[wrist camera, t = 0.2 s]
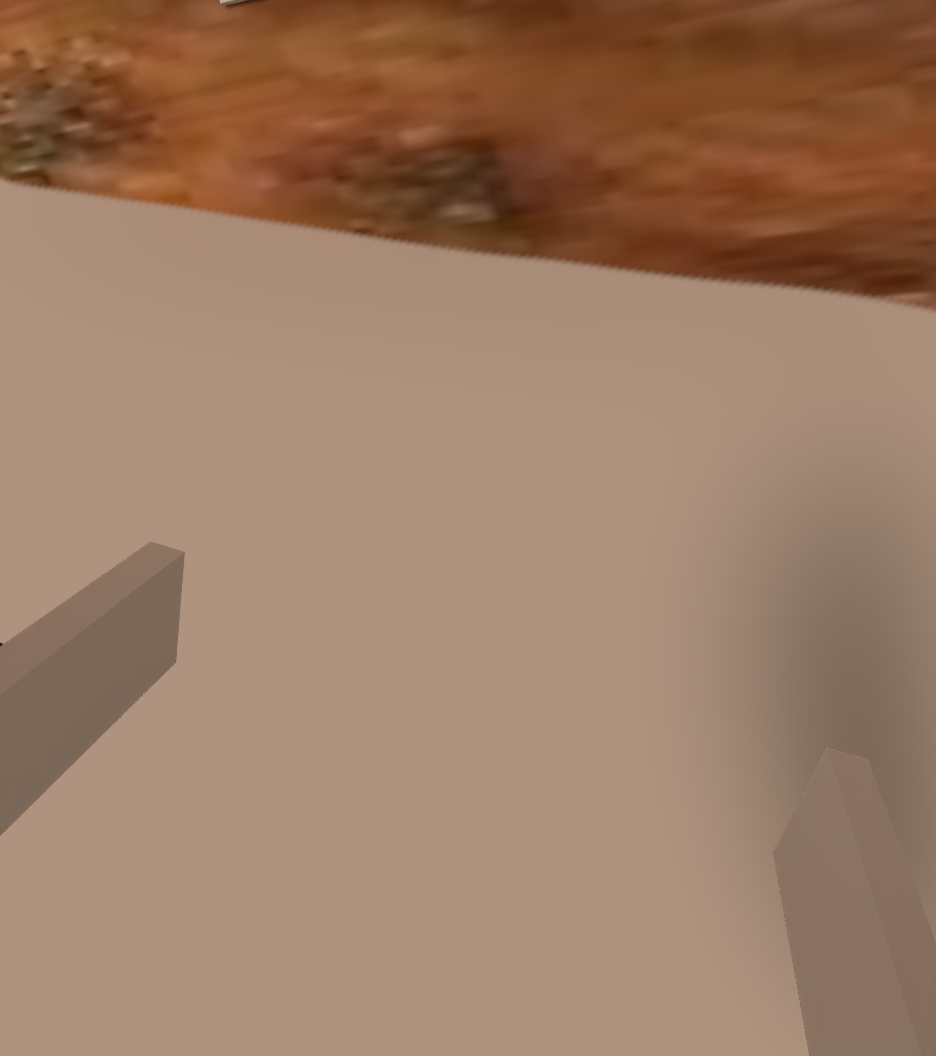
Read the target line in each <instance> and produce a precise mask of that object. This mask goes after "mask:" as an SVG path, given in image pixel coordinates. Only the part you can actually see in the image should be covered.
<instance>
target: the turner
mask: <svg viewBox="0 0 936 1056" xmlns="http://www.w3.org/2000/svg"><path fill="white" fill-rule="evenodd" d="M243 1H247V0H220V3H221V4H223V5H230V4H234V3H239V2H243Z"/></svg>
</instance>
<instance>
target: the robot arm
mask: <svg viewBox="0 0 936 1056" xmlns="http://www.w3.org/2000/svg"><path fill="white" fill-rule="evenodd" d="M184 555H185V552H183V551H180V550H176V549H173V548H170V547H167V546H163V545H160V544H157V543H153V542H149V543H148V544H146V545H145V546H143V547H142V548H141V549H139V550H138V551H136V552H135V553H133V554H132V555H131V556H129V557H128V558H126V559H125V560H123V561H122V562H121V563H119V564H118V565H116V566H115V567H113V568H112V569H111V570H109V571H108V572H106V573H105V574H103V575H102V576H101V577H99V578H98V579H96V580H95V581H93V582H92V583H90V584H89V585H88V586H86V587H85V588H83V589H82V590H80V591H79V592H78V593H76V594H75V595H73V596H72V597H71V598H69V599H68V600H66V601H65V602H63V603H62V604H60V605H59V606H58V607H56V608H55V609H53V610H52V611H51V612H49V613H48V614H46V615H45V616H43V617H42V618H40V619H39V620H38V621H36V622H35V623H33V624H32V625H30V626H29V627H27V628H26V629H25V630H23V631H22V632H20V633H19V634H18V635H16V636H15V637H13V638H12V639H10V640H9V641H7V642H6V643H5V644H2V643H0V836H1V835H2V834H3V832H5V831H6V830H7V829H8V828H9V827H10V826H11V825H12V824H13V823H14V822H15V821H16V820H17V819H18V818H19V817H20V816H21V815H22V814H23V813H24V812H25V811H26V810H27V809H28V808H29V807H30V806H31V805H32V804H33V803H34V802H35V801H36V800H37V799H38V798H39V797H40V796H41V795H42V794H43V793H44V792H45V791H46V790H47V789H48V788H49V787H50V786H51V785H52V784H53V783H54V782H55V781H56V780H57V779H58V778H59V777H60V776H61V775H62V774H63V773H64V772H65V771H66V770H67V769H68V768H69V767H71V765H72V764H74V763H75V762H76V760H78V759H79V757H81V756H82V755H83V754H84V752H86V751H87V750H88V749H89V748H90V747H91V746H92V745H93V744H94V743H95V742H96V741H97V740H98V739H99V738H100V737H101V736H102V735H103V734H104V733H105V732H106V731H107V730H108V729H109V728H110V727H111V726H112V725H113V724H114V723H115V722H116V721H117V720H118V719H119V718H120V717H121V716H122V715H123V714H124V713H125V712H126V711H127V710H128V709H129V708H130V707H131V706H132V705H133V704H134V703H135V702H136V701H137V700H138V699H139V698H140V697H141V696H142V695H143V694H144V693H145V692H146V691H147V690H148V689H149V688H150V687H151V686H152V685H154V684H155V683H156V682H157V680H159V679H160V678H161V677H162V676H163V675H164V674H165V673H166V672H167V670H169V669H170V668H171V667H172V666H173V665H174V664H175V663H176V656H177V643H178V631H179V618H180V604H181V592H182V580H183V567H184ZM773 855H774V860H775V866H776V871H777V877H778V883H779V888H780V894H781V899H782V905H783V910H784V916H785V922H786V927H787V933H788V939H789V944H790V950H791V955H792V961H793V967H794V972H795V978H796V984H797V989H798V994H799V1000H800V1006H801V1011H802V1017H803V1023H804V1028H805V1034H806V1040H807V1044H808V1051H809V1056H936V941H935V939H934V936H933V933H932V931H931V928H930V925H929V923H928V920H927V917H926V915H925V912H924V909H923V907H922V904H921V901H920V899H919V896H918V893H917V890H916V888H915V885H914V882H913V880H912V877H911V874H910V872H909V869H908V867H907V864H906V861H905V858H904V856H903V853H902V850H901V848H900V845H899V842H898V840H897V837H896V834H895V832H894V829H893V826H892V824H891V821H890V818H889V816H888V813H887V810H886V807H885V805H884V802H883V799H882V797H881V794H880V791H879V789H878V786H877V783H876V781H875V778H874V775H873V773H872V770H871V767H870V765H869V762H868V759H866V758H862V757H859V756H856V755H853V754H849V753H846V752H843V751H839V750H836V749H833V748H830V747H826V749H825V751H824V753H823V754H822V756H821V759H820V761H819V762H818V764H817V766H816V768H815V770H814V772H813V774H812V776H811V778H810V780H809V782H808V784H807V786H806V788H805V790H804V793H803V794H802V796H801V798H800V800H799V802H798V804H797V806H796V808H795V810H794V812H793V814H792V816H791V818H790V820H789V822H788V824H787V826H786V828H785V830H784V832H783V834H782V836H781V838H780V840H779V842H778V844H777V846H776V848H775V850H774V852H773Z"/></svg>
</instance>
